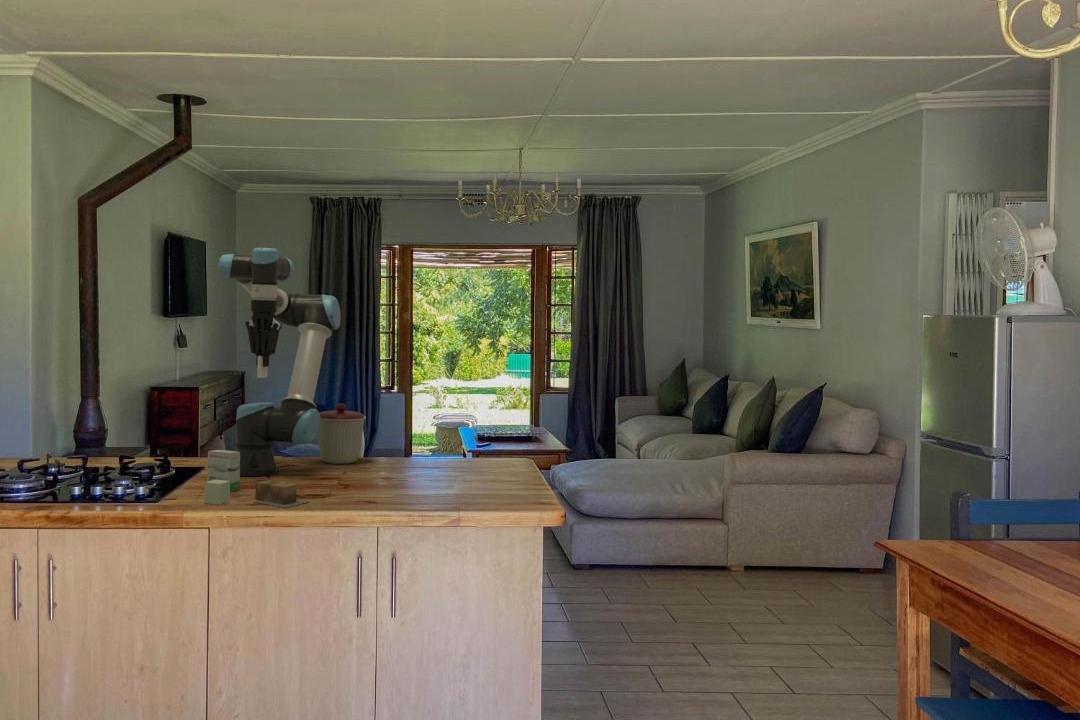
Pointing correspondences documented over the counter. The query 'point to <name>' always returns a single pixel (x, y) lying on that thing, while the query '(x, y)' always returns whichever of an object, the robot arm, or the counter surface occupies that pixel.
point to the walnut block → (276, 492)
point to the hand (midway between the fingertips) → (262, 377)
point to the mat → (280, 504)
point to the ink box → (224, 467)
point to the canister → (340, 435)
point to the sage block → (217, 492)
